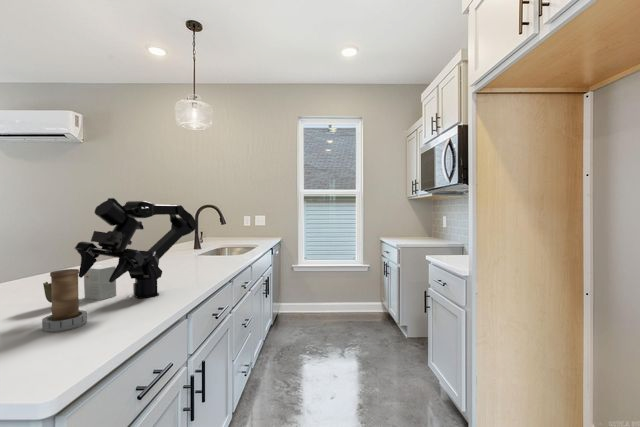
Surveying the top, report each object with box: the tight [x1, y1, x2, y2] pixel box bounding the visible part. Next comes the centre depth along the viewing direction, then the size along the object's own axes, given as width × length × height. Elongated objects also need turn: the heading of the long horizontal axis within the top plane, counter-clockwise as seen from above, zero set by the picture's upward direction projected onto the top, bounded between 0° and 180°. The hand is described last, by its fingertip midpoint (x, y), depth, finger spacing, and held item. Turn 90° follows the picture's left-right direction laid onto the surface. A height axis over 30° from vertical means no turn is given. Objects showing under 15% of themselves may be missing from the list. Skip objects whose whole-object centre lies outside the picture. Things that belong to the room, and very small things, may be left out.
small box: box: [83, 264, 117, 301], centre depth 107 cm, size 8×6×10 cm
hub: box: [41, 309, 88, 333], centre depth 81 cm, size 9×9×2 cm
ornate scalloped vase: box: [42, 281, 52, 304], centre depth 96 cm, size 8×7×8 cm
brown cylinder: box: [49, 268, 80, 321], centre depth 81 cm, size 6×6×13 cm
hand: (95, 279), depth 90 cm, fingers open, 9 cm apart
